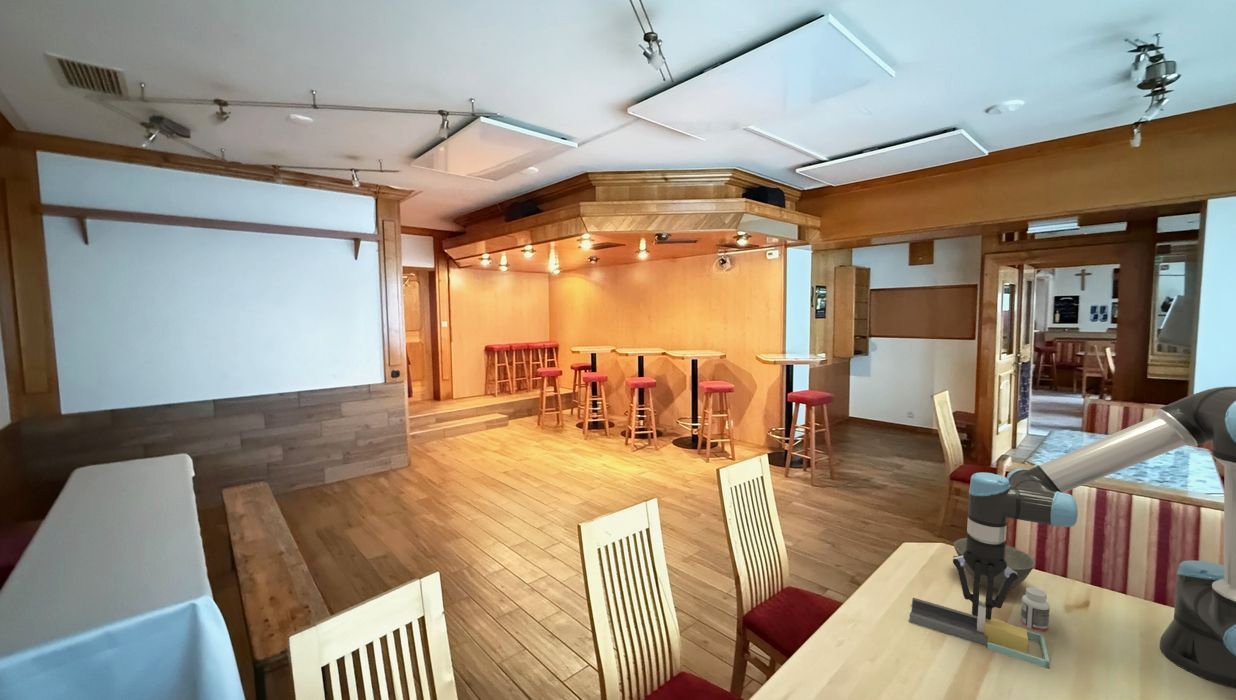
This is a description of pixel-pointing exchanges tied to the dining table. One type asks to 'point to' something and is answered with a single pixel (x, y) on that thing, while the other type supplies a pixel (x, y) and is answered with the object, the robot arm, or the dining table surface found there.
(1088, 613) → the dining table surface
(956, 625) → the slot rail
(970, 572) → the bowl
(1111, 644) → the dining table surface
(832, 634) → the dining table surface
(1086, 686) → the dining table surface
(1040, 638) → the tray
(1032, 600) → the pill bottle
